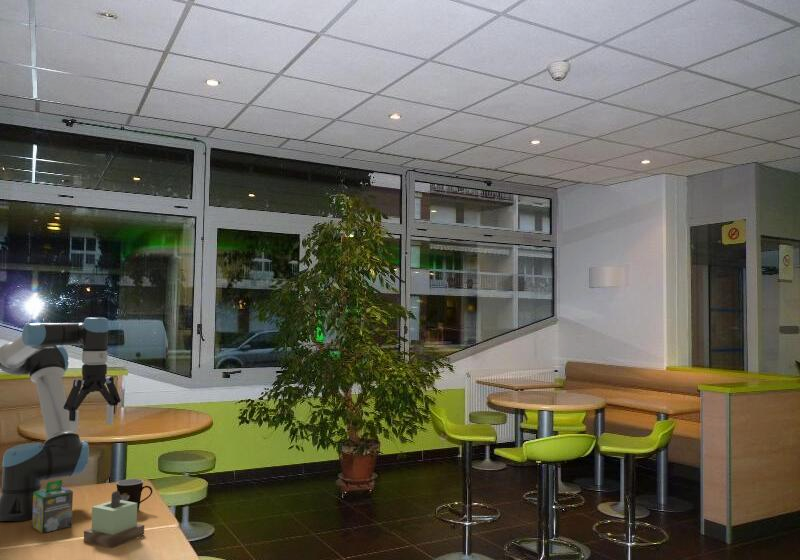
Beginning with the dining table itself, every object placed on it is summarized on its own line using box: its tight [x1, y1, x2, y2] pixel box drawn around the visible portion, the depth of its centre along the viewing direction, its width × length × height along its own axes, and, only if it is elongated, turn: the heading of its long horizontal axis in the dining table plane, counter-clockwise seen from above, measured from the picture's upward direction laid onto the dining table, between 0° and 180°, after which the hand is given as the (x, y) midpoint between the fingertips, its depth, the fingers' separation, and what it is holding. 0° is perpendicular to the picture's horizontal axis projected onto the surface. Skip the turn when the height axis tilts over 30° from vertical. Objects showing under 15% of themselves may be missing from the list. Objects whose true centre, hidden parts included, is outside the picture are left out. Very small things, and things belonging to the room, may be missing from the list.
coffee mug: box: [116, 478, 153, 512], centre depth 221 cm, size 12×9×10 cm
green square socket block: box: [91, 500, 138, 535], centre depth 195 cm, size 9×9×7 cm
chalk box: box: [31, 479, 74, 534], centre depth 205 cm, size 9×9×15 cm
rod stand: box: [83, 490, 145, 548], centre depth 195 cm, size 12×12×14 cm
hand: (92, 427), depth 212 cm, fingers open, 13 cm apart
